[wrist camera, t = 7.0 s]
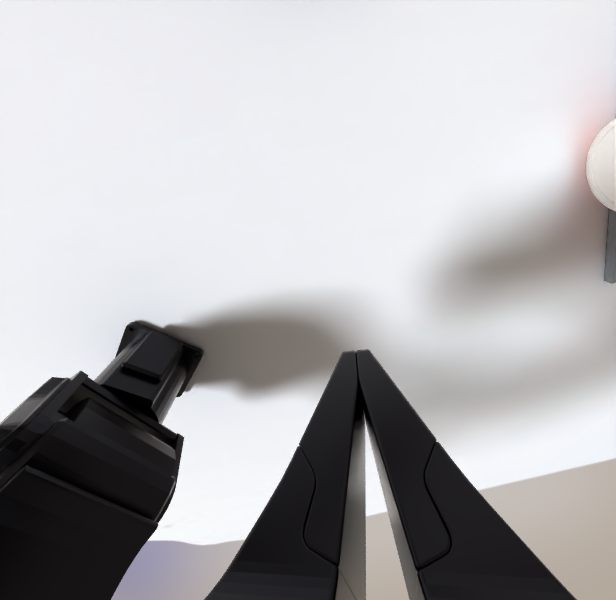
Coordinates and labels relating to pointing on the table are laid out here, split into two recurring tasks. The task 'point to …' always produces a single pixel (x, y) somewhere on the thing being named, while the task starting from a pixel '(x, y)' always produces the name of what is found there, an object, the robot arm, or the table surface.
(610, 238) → the mat
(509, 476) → the table surface
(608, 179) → the paper cup
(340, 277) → the table surface
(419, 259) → the table surface
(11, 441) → the robot arm
